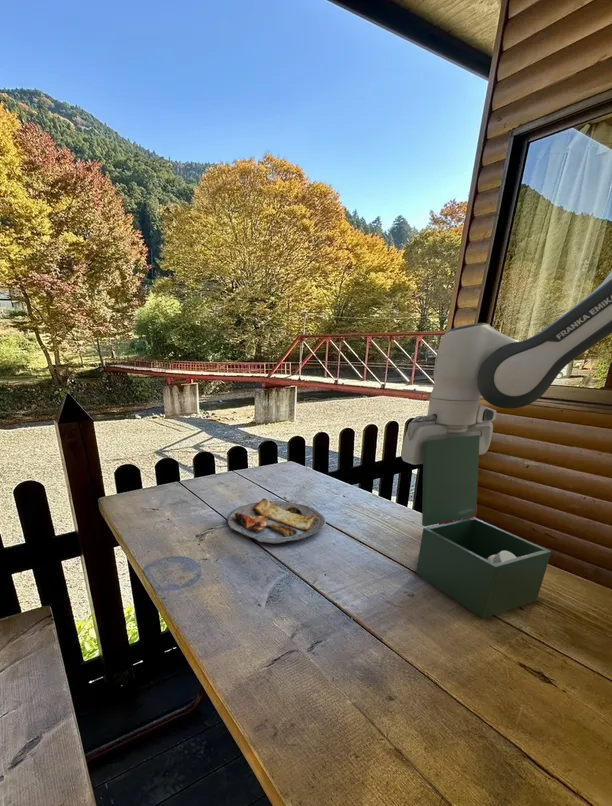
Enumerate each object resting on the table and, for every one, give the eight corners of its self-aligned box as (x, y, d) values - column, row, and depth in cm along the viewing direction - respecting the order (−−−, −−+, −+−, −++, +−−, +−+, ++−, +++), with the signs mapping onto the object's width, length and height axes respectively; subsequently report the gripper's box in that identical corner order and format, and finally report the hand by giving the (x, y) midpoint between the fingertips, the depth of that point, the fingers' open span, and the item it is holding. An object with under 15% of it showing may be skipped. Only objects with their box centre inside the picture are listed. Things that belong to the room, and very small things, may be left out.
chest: (536, 603, 75) (551, 551, 71) (482, 621, 70) (495, 567, 66) (464, 562, 89) (474, 517, 85) (415, 575, 84) (423, 528, 80)
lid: (479, 434, 81) (476, 434, 82) (426, 441, 76) (423, 441, 77) (476, 515, 84) (472, 514, 85) (425, 526, 79) (421, 525, 80)
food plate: (209, 524, 107) (209, 512, 106) (270, 501, 122) (270, 490, 121) (282, 559, 90) (282, 545, 89) (341, 527, 105) (342, 514, 104)
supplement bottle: (461, 572, 79) (492, 549, 72) (479, 568, 80) (510, 546, 74) (476, 595, 76) (509, 574, 70) (494, 590, 78) (528, 570, 71)
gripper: (423, 419, 74) (412, 490, 79) (503, 411, 81) (489, 477, 86) (398, 414, 80) (390, 481, 85) (475, 406, 87) (464, 469, 92)
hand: (440, 479), depth 86 cm, fingers closed
